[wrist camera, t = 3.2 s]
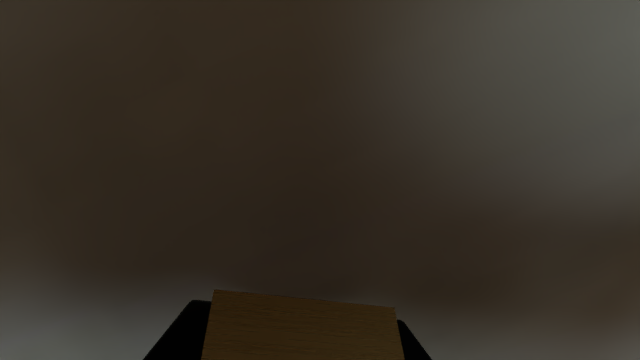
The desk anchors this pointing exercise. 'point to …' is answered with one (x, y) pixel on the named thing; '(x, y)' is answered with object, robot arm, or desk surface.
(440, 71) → the desk surface
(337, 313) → the pin
